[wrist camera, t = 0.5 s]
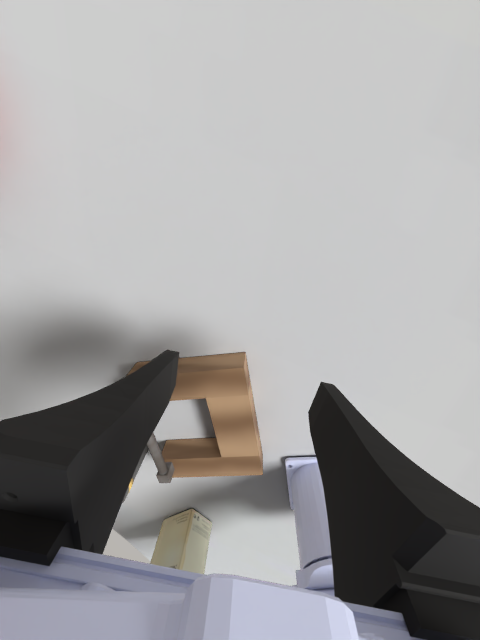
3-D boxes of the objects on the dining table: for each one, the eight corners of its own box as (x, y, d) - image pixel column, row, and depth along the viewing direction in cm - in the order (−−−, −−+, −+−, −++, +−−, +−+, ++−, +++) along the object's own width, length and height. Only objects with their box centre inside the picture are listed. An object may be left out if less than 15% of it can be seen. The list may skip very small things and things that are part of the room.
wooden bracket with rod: (262, 453, 29) (263, 489, 25) (173, 457, 30) (161, 491, 27) (245, 352, 23) (242, 378, 20) (136, 362, 25) (115, 388, 21)
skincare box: (192, 506, 34) (161, 647, 23) (213, 522, 36) (193, 663, 25) (162, 519, 36) (119, 655, 25) (182, 534, 38) (150, 670, 27)
